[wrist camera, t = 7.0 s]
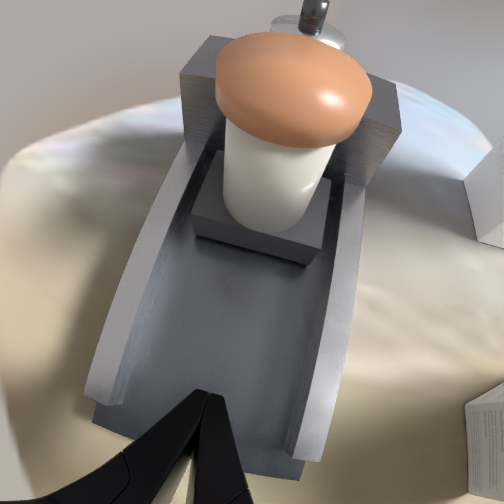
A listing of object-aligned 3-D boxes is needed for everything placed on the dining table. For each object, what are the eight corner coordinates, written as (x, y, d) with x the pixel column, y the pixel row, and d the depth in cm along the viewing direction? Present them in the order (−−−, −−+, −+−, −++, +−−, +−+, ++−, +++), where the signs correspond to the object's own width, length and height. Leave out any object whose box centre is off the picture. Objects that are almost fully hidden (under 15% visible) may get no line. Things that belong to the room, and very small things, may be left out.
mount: (292, 473, 13) (351, 534, 6) (102, 419, 13) (15, 437, 6) (349, 161, 21) (394, 74, 14) (213, 124, 21) (216, 28, 14)
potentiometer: (327, 100, 12) (354, 23, 9) (255, 79, 12) (267, -1, 9) (335, 66, 13) (357, 1, 10) (274, 48, 14) (286, -19, 10)
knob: (307, 272, 16) (394, 148, 7) (190, 240, 16) (169, 90, 7) (321, 195, 18) (385, 62, 9) (219, 167, 18) (225, 20, 9)
